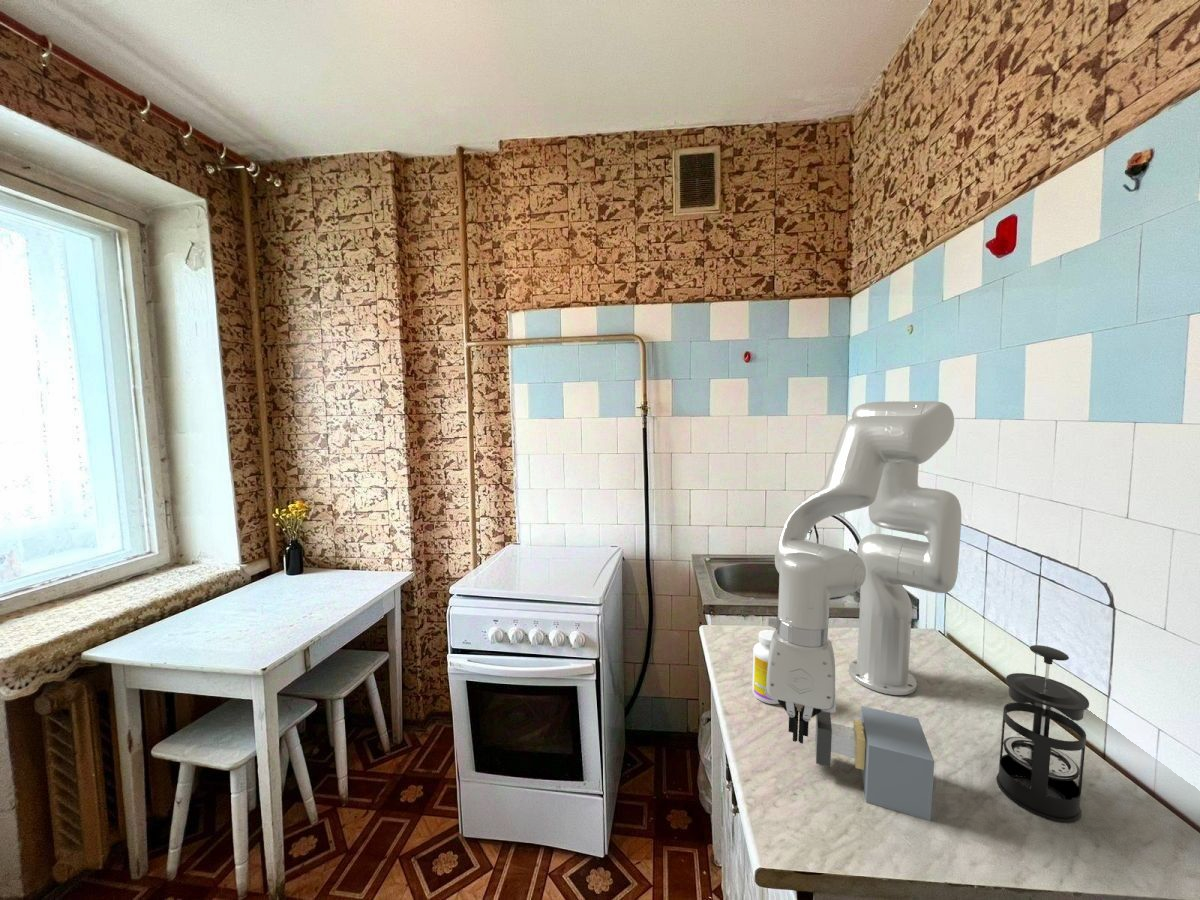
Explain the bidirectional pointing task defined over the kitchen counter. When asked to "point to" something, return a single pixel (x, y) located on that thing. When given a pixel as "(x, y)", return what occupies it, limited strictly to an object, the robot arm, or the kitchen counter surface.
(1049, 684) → the french press
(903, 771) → the housing
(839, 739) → the shaft
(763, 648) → the supplement bottle
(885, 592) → the robot arm
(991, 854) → the kitchen counter surface
